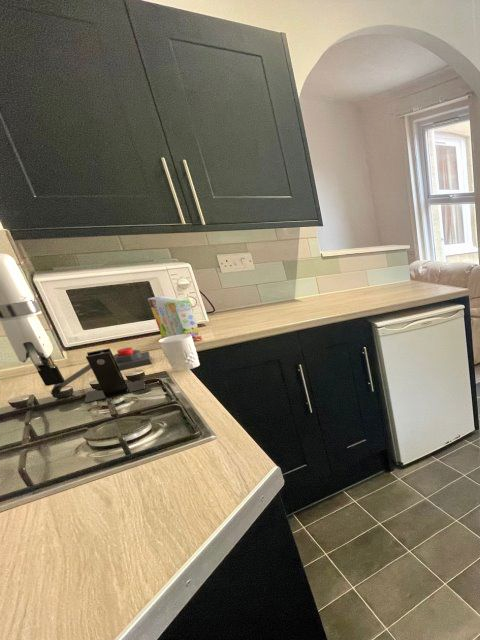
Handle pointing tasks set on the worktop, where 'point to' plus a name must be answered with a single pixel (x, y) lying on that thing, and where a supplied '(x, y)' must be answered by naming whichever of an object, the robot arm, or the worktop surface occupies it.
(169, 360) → the white cup
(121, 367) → the button box
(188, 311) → the snack box
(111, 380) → the lever stand
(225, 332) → the worktop surface
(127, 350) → the button
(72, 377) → the press lever
